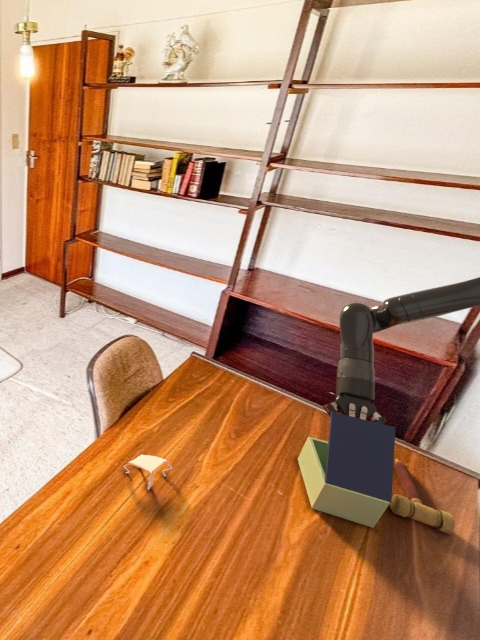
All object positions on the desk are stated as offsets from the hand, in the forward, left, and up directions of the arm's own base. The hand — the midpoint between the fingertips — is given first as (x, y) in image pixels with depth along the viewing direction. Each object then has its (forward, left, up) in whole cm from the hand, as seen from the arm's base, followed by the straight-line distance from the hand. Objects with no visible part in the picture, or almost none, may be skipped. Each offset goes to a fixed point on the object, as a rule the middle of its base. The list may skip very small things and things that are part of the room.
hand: (352, 449), depth 96 cm
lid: (-1, +3, +1) cm, 3 cm away
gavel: (-14, -13, -14) cm, 24 cm away
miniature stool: (+35, +32, -14) cm, 49 cm away
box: (0, +1, -14) cm, 14 cm away
